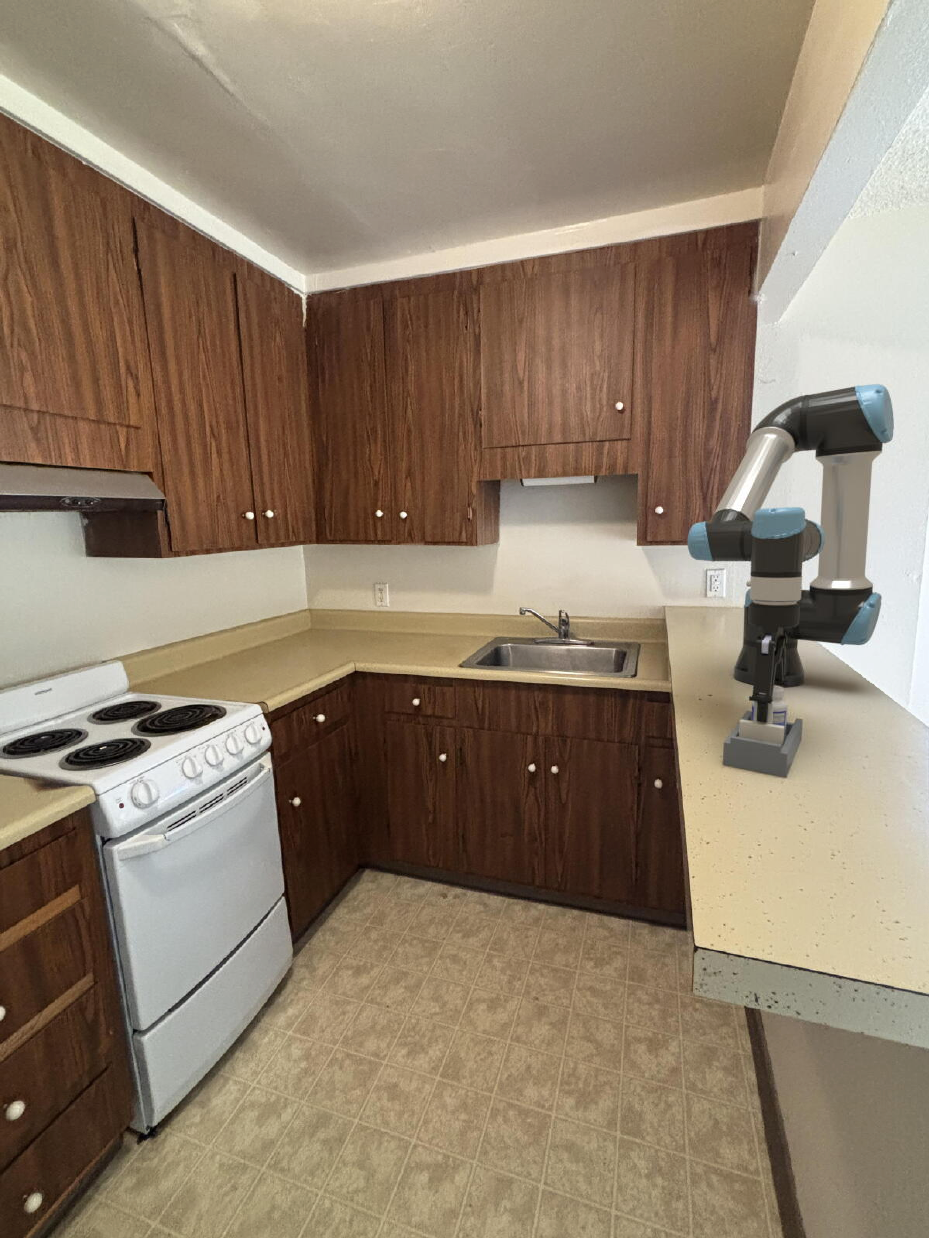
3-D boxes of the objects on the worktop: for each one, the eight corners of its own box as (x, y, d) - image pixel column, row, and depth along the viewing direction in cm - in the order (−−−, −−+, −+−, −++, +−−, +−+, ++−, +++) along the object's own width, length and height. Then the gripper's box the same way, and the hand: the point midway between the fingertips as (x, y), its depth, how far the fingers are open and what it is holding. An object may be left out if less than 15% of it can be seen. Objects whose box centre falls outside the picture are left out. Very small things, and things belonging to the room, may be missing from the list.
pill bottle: (754, 733, 102) (756, 681, 100) (788, 739, 98) (791, 685, 97) (746, 742, 98) (749, 688, 96) (781, 749, 94) (784, 693, 93)
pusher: (739, 747, 95) (741, 719, 94) (782, 755, 91) (784, 726, 91) (733, 757, 91) (734, 728, 91) (778, 766, 88) (779, 735, 87)
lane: (746, 730, 106) (747, 705, 105) (801, 739, 100) (803, 713, 99) (722, 764, 91) (723, 736, 91) (786, 777, 86) (787, 747, 85)
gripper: (761, 593, 105) (755, 709, 108) (734, 609, 87) (729, 746, 91) (808, 595, 100) (801, 715, 104) (790, 611, 83) (782, 756, 86)
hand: (767, 729), depth 97 cm, fingers open, 10 cm apart
